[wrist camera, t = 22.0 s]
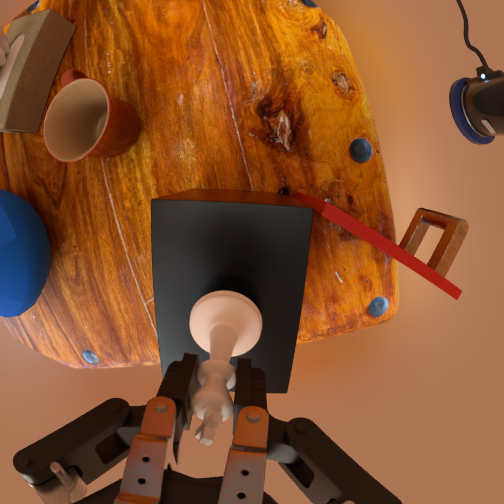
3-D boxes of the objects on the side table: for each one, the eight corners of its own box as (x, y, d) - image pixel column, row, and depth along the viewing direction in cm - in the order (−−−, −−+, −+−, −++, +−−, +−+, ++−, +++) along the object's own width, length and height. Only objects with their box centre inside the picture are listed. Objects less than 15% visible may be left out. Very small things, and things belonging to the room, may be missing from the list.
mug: (157, 142, 31) (121, 131, 21) (102, 175, 32) (55, 178, 22) (128, 69, 28) (91, 40, 18) (77, 103, 29) (32, 89, 19)
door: (317, 148, 31) (363, 130, 17) (415, 212, 33) (489, 236, 19) (291, 198, 33) (320, 215, 19) (392, 256, 35) (457, 300, 20)
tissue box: (37, 135, 30) (-39, 131, 15) (5, 131, 29) (-63, 130, 14) (78, 25, 25) (21, -14, 10) (40, 31, 24) (-15, 4, 9)
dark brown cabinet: (287, 193, 33) (313, 207, 18) (275, 316, 37) (287, 393, 23) (194, 188, 33) (150, 199, 18) (193, 310, 37) (163, 384, 22)
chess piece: (276, 313, 19) (294, 431, 9) (238, 362, 20) (230, 478, 10) (211, 276, 18) (172, 381, 8) (178, 330, 19) (132, 440, 9)
